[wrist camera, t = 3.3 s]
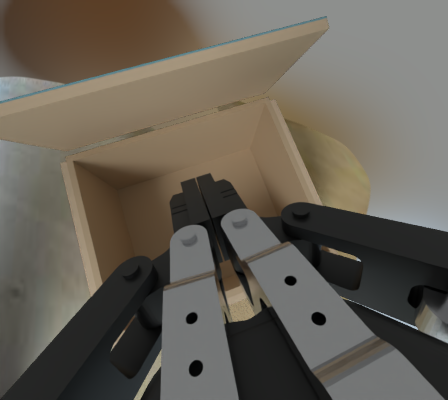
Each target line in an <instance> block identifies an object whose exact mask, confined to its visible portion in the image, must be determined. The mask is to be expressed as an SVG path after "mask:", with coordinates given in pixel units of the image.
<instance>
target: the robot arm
mask: <svg viewBox="0 0 448 400" xmlns="http://www.w3.org/2000/svg"><path fill="white" fill-rule="evenodd" d="M196 179H197V182H196V180H195V178H192V179H189V180H186V181H183V182H180V183H181V187H182V191H183V192H181V193H178V194H175V195H173V196H172V198H171V200H170V202H169V203H170V209H171V217H172V224H173V231H174V235H173V236H172V238H171V240H170V248H169V249H168V250H167V251H166V252H164V253H163V254H162V255H160V256H158V257H157V258H155V259H154V260H152V261H151V260H150V258H148V257H146V256H136V257H132V258H130V259H128V260H126V261H124V262H123V263H122V264H120V265H119V266H118V267H117V268H116V269H115V270H114V272H113V273H112V274H111V275H110V276H109V277H108V278H107V279H106V281H105V282H104V283H103V284H102V285H101V286H100V287H99V289H98V290H97V291H96V292H95V293H94V294H93V295H92V296H91V298H90V299H89V300H88V301H87V302H86V303H85V304H84V306H83V307H82V308H81V309H80V310H79V311H78V312H77V313H76V315H75V316H74V317H73V318H72V319H71V320H70V321H69V322H68V324H67V325H66V326H65V327H64V328H63V329H62V330H61V332H60V333H59V334H58V335H57V336H56V337H55V338H54V339H53V341H52V342H51V343H50V344H49V345H48V346H47V347H46V349H45V350H44V351H43V352H42V353H41V354H40V355H39V356H38V358H37V359H36V360H35V361H34V362H33V363H32V364H31V365H30V367H29V368H28V369H27V370H26V371H25V372H24V373H23V375H22V376H21V377H20V378H19V379H18V380H17V381H16V382H15V384H14V385H13V386H12V387H11V388H10V389H9V390H8V392H7V393H6V394H5V395H4V396H3V397H2V398H1V399H0V400H134V398H135V396H136V394H137V392H138V391H139V389H140V387H141V385H142V383H143V382H144V380H145V378H146V376H147V374H148V372H149V371H150V369H151V367H152V365H153V363H154V361H155V360H156V358H157V356H158V354H159V352H160V351H161V349H162V355H161V367H160V368H159V370H158V371H157V372H156V374H155V375H154V376H153V378H152V380H151V381H150V383H149V384H148V386H147V388H146V390H145V392H144V394H143V396H142V398H141V400H448V232H445V231H440V230H436V229H431V228H426V227H422V226H417V225H412V224H407V223H402V222H398V221H393V220H388V219H383V218H379V217H374V216H369V215H365V214H360V213H355V212H350V211H346V210H341V209H336V208H331V207H327V206H322V205H317V204H312V203H307V202H296V203H292V204H289V205H287V206H286V207H284V209H283V210H282V212H281V216H277V217H259V216H258V215H257V214H256V213H255V212H254V211H252V210H249V209H247V207H246V205H245V204H244V202H243V201H242V199H241V198H240V196H239V195H238V194H237V191H236V190H235V189H234V187H233V185H232V184H231V182H229V181H227V180H225V179H222V180H219V181H216V182H215V181H214V179H213V177H212V175H211V173H208V174H205V175H202V176H198V177H196ZM197 183H198V185H197ZM198 186H199V188H198ZM199 189H200V190H199ZM200 192H201V193H200ZM217 241H218V242H217ZM218 244H219V246H218ZM321 246H325V247H328V248H331V249H334V250H338V251H341V252H344V253H347V254H351V255H354V256H356V257H357V258H359V259H360V260H361V262H360V261H356V260H353V259H350V258H347V257H343V256H340V255H337V254H334V253H331V252H328V251H324V250H321ZM219 247H220V249H221V252H222V255H223V257H224V260H225V261H227V260H230V261H231V263H232V266H233V270H234V273H235V276H236V278H237V280H238V282H239V284H240V286H241V288H242V290H243V292H244V294H245V296H246V298H247V300H248V302H249V304H250V306H251V308H252V310H253V312H254V314H255V316H254V317H252V318H251V319H249V320H245V321H238V322H233V321H232V317H231V313H230V308H229V304H228V300H227V295H226V291H225V287H224V282H223V279H222V270H221V267H220V264H219V263H222V262H223V259H222V256H221V252H220V249H219ZM340 296H342V297H344V298H347V299H349V300H352V301H354V302H352V301H349V300H345V299H342V298H341V297H340ZM355 302H356V303H355ZM357 303H359V304H357ZM360 304H361V305H360ZM362 305H364V306H366V307H364V306H362ZM367 307H369V308H371V309H374V310H377V311H379V312H381V313H384V314H386V315H389V316H391V317H394V318H396V319H399V320H401V321H403V322H406V323H408V324H411V325H413V326H416V327H417V328H418V330H416V329H414V328H412V327H410V326H408V325H405V324H403V323H401V322H398V321H396V320H394V319H392V318H389V317H387V316H384V315H382V314H380V313H378V312H376V311H373V310H371V309H369V308H367ZM133 316H135V317H134V319H133V320H132V322H131V323H130V325H129V326H128V328H127V329H126V330H125V332H124V333H123V335H122V336H121V338H120V339H119V341H118V342H117V343H116V345H115V346H114V348H113V349H112V347H113V345H114V343H115V342H116V340H117V339H118V337H119V336H120V335H121V333H122V332H123V330H124V329H125V327H126V326H127V325H128V323H129V322H130V320H131V319H132V317H133ZM111 349H112V351H111Z"/></svg>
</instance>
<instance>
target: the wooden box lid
mask: <svg viewBox="0 0 448 400" xmlns="http://www.w3.org/2000/svg"><path fill="white" fill-rule="evenodd" d="M328 29H329V25H328V21H327V17H326V16H325V17H321V18H318V19H314V20H310V21H306V22H302V23H298V24H294V25H291V26H287V27H283V28H279V29H275V30H272V31H268V32H264V33H260V34H256V35H252V36H249V37H245V38H241V39H237V40H234V41H230V42H226V43H222V44H218V45H214V46H210V47H207V48H203V49H199V50H195V51H191V52H188V53H184V54H180V55H176V56H173V57H168V58H165V59H161V60H157V61H154V62H150V63H145V64H142V65H138V66H134V67H130V68H126V69H123V70H119V71H115V72H111V73H107V74H103V75H100V76H96V77H92V78H88V79H84V80H81V81H77V82H73V83H69V84H65V85H61V86H58V87H54V88H50V89H46V90H42V91H38V92H35V93H31V94H27V95H23V96H19V97H16V98H12V99H8V100H4V101H0V139H1V140H6V141H12V142H17V143H23V144H28V145H34V146H39V147H45V148H50V149H56V150H62V151H69V150H72V149H76V148H79V147H83V146H86V145H90V144H93V143H96V142H100V141H103V140H107V139H110V138H114V137H117V136H120V135H124V134H127V133H131V132H134V131H137V130H141V129H144V128H148V127H151V126H155V125H158V124H161V123H165V122H168V121H172V120H175V119H178V118H182V117H185V116H189V115H192V114H195V113H199V112H202V111H206V110H209V109H213V108H216V107H219V106H223V105H226V104H230V103H233V102H237V101H240V100H243V99H247V98H250V97H254V96H257V95H261V94H264V93H265V92H266V91H268V90H269V89H270V88H271V87H272V86H273V85H274V84H275V83H276V81H278V80H279V79H280V77H281V76H282V75H284V74H285V72H287V70H288V69H289V68H290V67H291V66H292V65H293V64H294V63H295V62H296V61H297V60H298V59H299V58H300V57H301V56H302V55H303V54H304V53H305V52H306V51H307V50H308V49H309V48H310V47H311V46H312V45H313V44H314V43H315V42H316V41H317V40H318V39H319V38H320V37H321V36H322V35H323V34H324V33H325V32H326V31H327V30H328Z"/></svg>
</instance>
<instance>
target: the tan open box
mask: <svg viewBox="0 0 448 400" xmlns="http://www.w3.org/2000/svg"><path fill="white" fill-rule="evenodd" d="M65 158H66V162H62V163H60V165H61V170H62V174H63V178H64V183H65V187H66V191H67V196H68V200H69V204H70V209H71V213H72V217H73V222H74V226H75V230H76V235H77V239H78V243H79V248H80V252H81V256H82V260H83V265H84V269H85V273H86V278H87V282H88V286H89V291H90V295H91V296H92V295H93V294H94V293H95V292H96V291H97V290H98V289H99V287H100V286H101V285H102V284H103V283H104V282H105V281H106V279H107V278H108V277H109V276H110V275H111V274H112V273H113V272H114V270H115V269H116V268H117V267H118V266H119V265H120V264H122V263H123V262H124V261H126V260H128V259H130V258H132V257H136V256H146V257H148V258H150V260H151V261H152V260H154V259H155V258H157V257H158V256H160V255H162V254H163V253H164V252H166V251H167V250H168V249H169V248H170V240H171V238H172V236H173V235H174V231H173V224H172V217H171V209H170V203H169V202H170V200H171V198H172V196H173V195H175V194H178V193H181V192H183V191H182V187H181V183H180V182H183V181H186V180H189V179H192V178H195V180H196V182H197V179H196V177H198V176H202V175H205V174H208V173H211V175H212V177H213V179H214V181H215V182H216V181H219V180H222V179H225V180H227V181H229V182H231V184H232V185H233V187H234V189H235V190H236V191H237V194H238V195H239V196H240V198H241V199H242V201H243V202H244V204H245V205H246V207H247V209H249V210H252V211H254V212H255V213H256V214H257V215H258V216H259V217H277V216H281V212H282V210H283V209H284V207H286V206H287V205H289V204H292V203H296V202H307V203H312V204H317V205H322V203H321V200H320V198H319V196H318V194H317V191H316V189H315V187H314V185H313V182H312V180H311V178H310V176H309V173H308V171H307V169H306V167H305V165H304V162H303V160H302V158H301V156H300V153H299V151H298V149H297V147H296V144H295V142H294V140H293V138H292V135H291V133H290V131H289V129H288V127H287V124H286V122H285V120H284V118H283V115H282V113H281V111H280V109H279V106H278V104H277V102H276V100H275V99H274V100H271V101H270V99H269V97H266V98H263V99H260V100H256V101H253V102H250V103H246V104H243V105H239V106H236V107H232V108H229V109H226V110H222V111H219V112H216V113H212V114H209V115H205V116H202V117H199V118H195V119H192V120H188V121H185V122H182V123H178V124H175V125H171V126H168V127H165V128H161V129H158V130H154V131H151V132H148V133H144V134H141V135H137V136H134V137H131V138H127V139H124V140H121V141H117V142H114V143H110V144H107V145H104V146H100V147H97V148H93V149H90V150H87V151H83V152H80V153H76V154H73V155H70V156H66V157H65ZM197 185H198V183H197ZM198 188H199V186H198ZM199 190H200V189H199ZM200 193H201V192H200ZM322 206H323V205H322ZM217 242H218V241H217ZM218 246H219V244H218ZM219 249H220V247H219ZM321 250H324V251H328V252H331V253H334V254H337V255H338V253H337V251H336V250H334V249H331V248H328V247H325V246H321ZM220 252H221V249H220ZM221 256H222V259H223V262H222V263H219V264H220V267H221V270H222V279H223V282H224V287H225V291H226V295H227V300H228V304H229V305H231V304H234V303H236V302H239V301H241V300H244V299H247V298H246V296H245V294H244V292H243V290H242V288H241V286H240V284H239V282H238V280H237V278H236V276H235V273H234V270H233V266H232V263H231V261H230V260H227V261H225V260H224V257H223V255H222V252H221ZM134 317H135V316H133V317H132V319H131V320H130V322H129V323H128V325H127V326H126V327H125V329H124V330H123V332H122V333H121V335H120V336H119V337H118V339H117V340H116V342H115V343H114V345H113V348H114V346H115V345H116V343H117V342H118V341H119V339H120V338H121V336H122V335H123V333H124V332H125V330H126V329H127V328H128V326H129V325H130V323H131V322H132V320H133V319H134Z"/></svg>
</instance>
